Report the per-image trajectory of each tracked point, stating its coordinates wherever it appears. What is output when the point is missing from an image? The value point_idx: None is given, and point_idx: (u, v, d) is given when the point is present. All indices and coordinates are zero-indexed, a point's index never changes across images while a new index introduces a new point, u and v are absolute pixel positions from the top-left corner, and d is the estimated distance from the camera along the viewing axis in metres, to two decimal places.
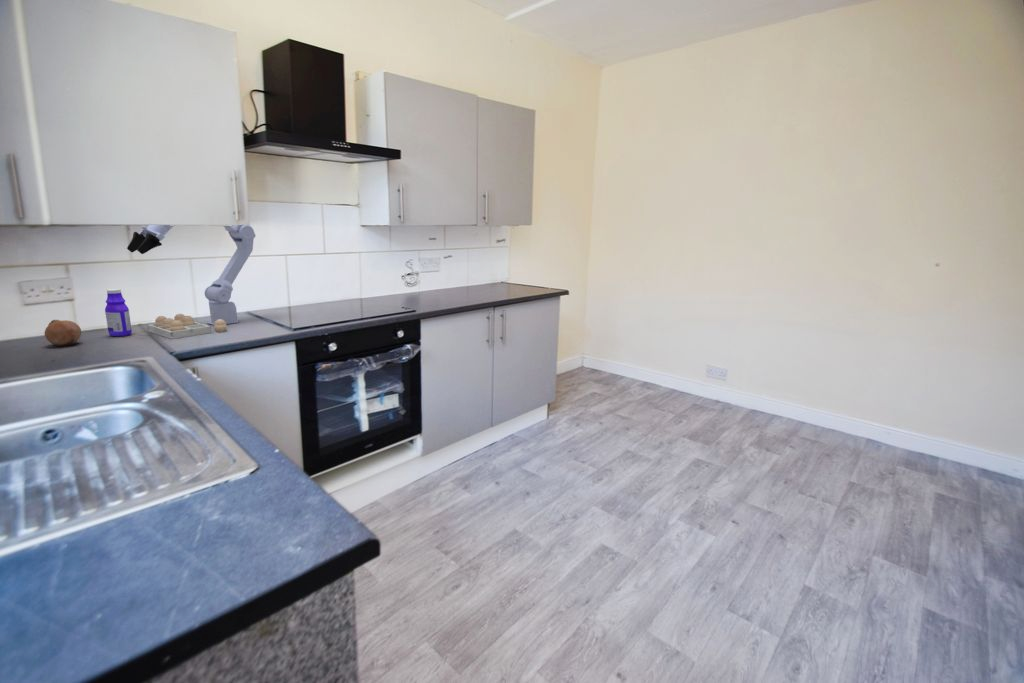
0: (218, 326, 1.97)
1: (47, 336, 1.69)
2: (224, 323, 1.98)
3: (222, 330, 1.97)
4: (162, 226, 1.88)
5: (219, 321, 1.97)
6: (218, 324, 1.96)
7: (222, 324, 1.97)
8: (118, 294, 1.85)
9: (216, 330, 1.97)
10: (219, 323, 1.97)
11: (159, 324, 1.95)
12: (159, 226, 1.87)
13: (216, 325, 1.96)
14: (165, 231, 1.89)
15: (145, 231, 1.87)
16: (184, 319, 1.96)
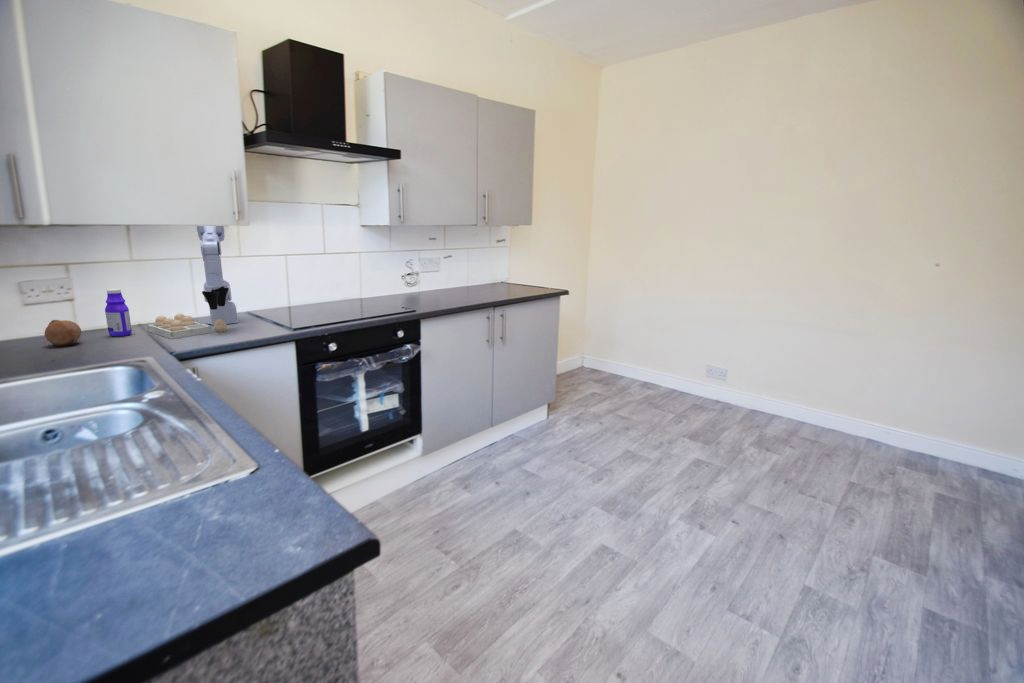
0: (218, 326, 1.97)
1: (47, 336, 1.69)
2: (224, 323, 1.98)
3: (222, 330, 1.97)
4: None
5: (219, 321, 1.97)
6: (218, 324, 1.96)
7: (222, 324, 1.97)
8: (118, 294, 1.85)
9: (216, 330, 1.97)
10: (219, 323, 1.97)
11: (159, 324, 1.95)
12: None
13: (216, 325, 1.96)
14: None
15: (218, 286, 1.94)
16: (184, 319, 1.96)
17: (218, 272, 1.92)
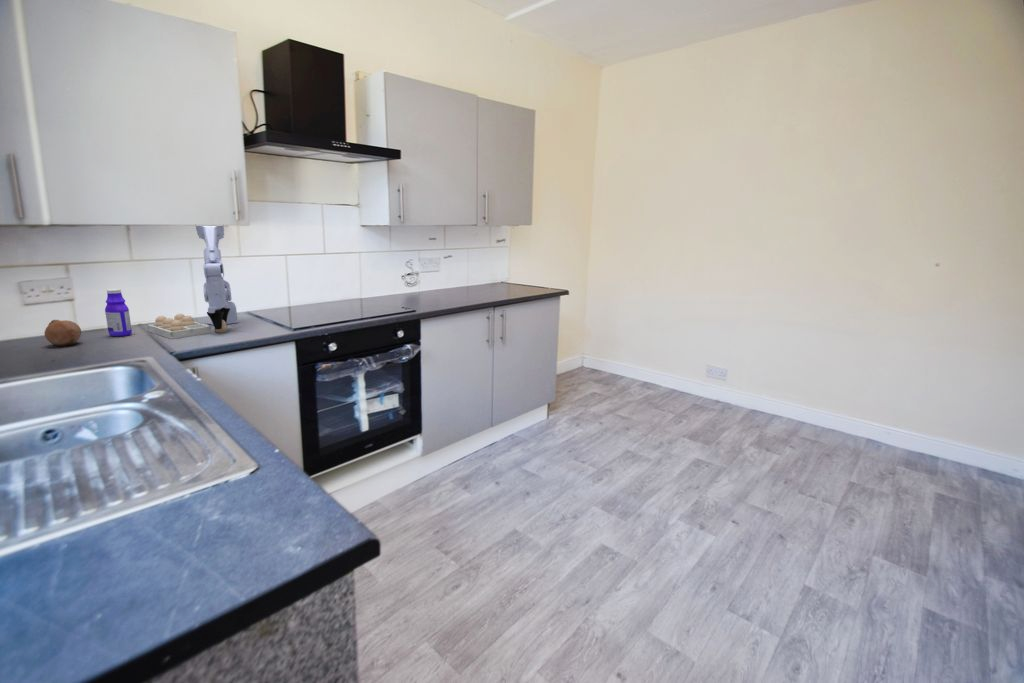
0: None
1: (47, 336, 1.69)
2: (224, 323, 1.98)
3: (222, 330, 1.97)
4: None
5: None
6: None
7: (222, 324, 1.97)
8: (118, 294, 1.85)
9: (216, 330, 1.97)
10: None
11: (159, 324, 1.95)
12: None
13: None
14: None
15: None
16: (184, 319, 1.96)
17: (221, 293, 1.94)
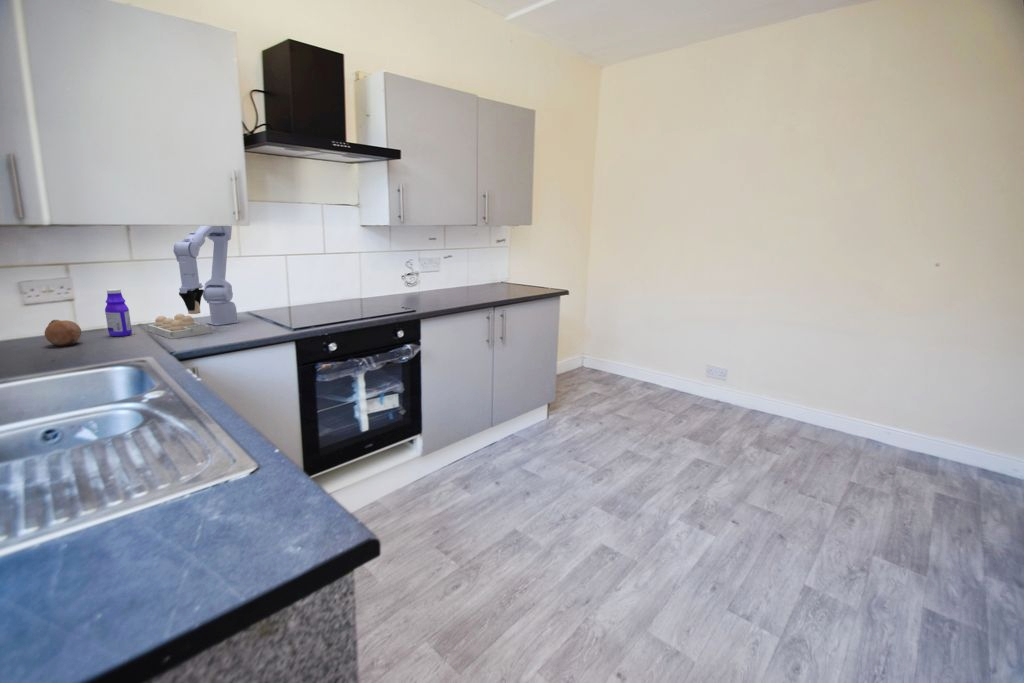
0: None
1: (47, 336, 1.69)
2: (197, 304, 1.93)
3: (195, 311, 1.92)
4: None
5: None
6: None
7: (195, 306, 1.92)
8: (118, 294, 1.85)
9: (189, 311, 1.92)
10: None
11: (159, 324, 1.95)
12: None
13: None
14: None
15: (194, 288, 1.90)
16: (184, 319, 1.96)
17: (190, 273, 1.88)
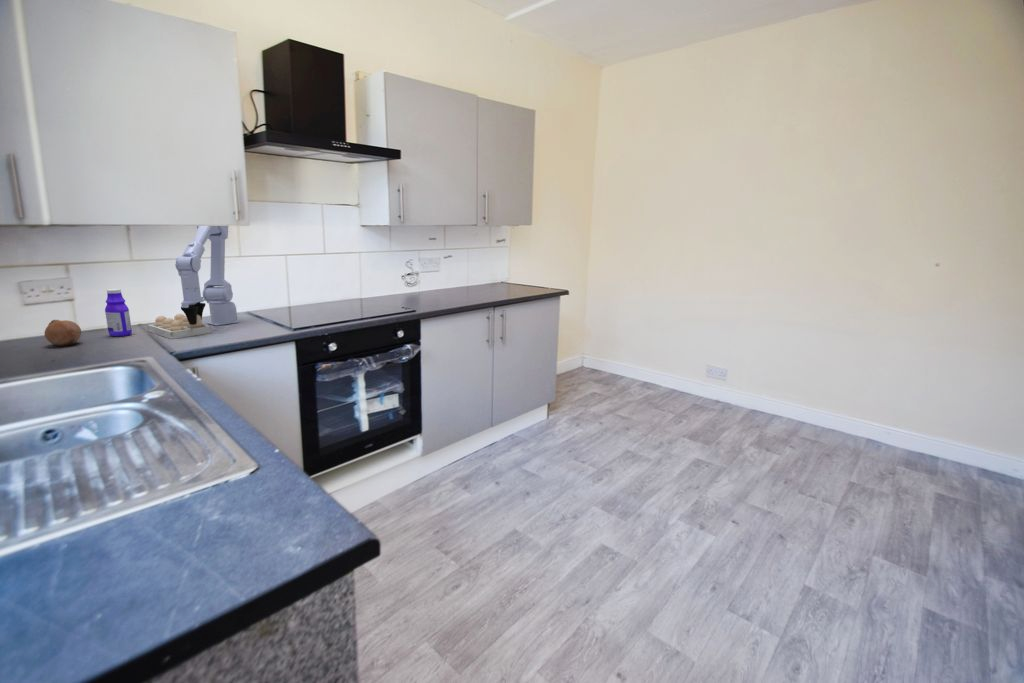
0: None
1: (47, 336, 1.69)
2: (199, 318, 1.94)
3: (197, 325, 1.93)
4: None
5: None
6: None
7: (197, 319, 1.93)
8: (118, 294, 1.85)
9: (191, 325, 1.93)
10: None
11: (159, 324, 1.95)
12: None
13: None
14: None
15: None
16: (184, 319, 1.96)
17: (192, 288, 1.89)
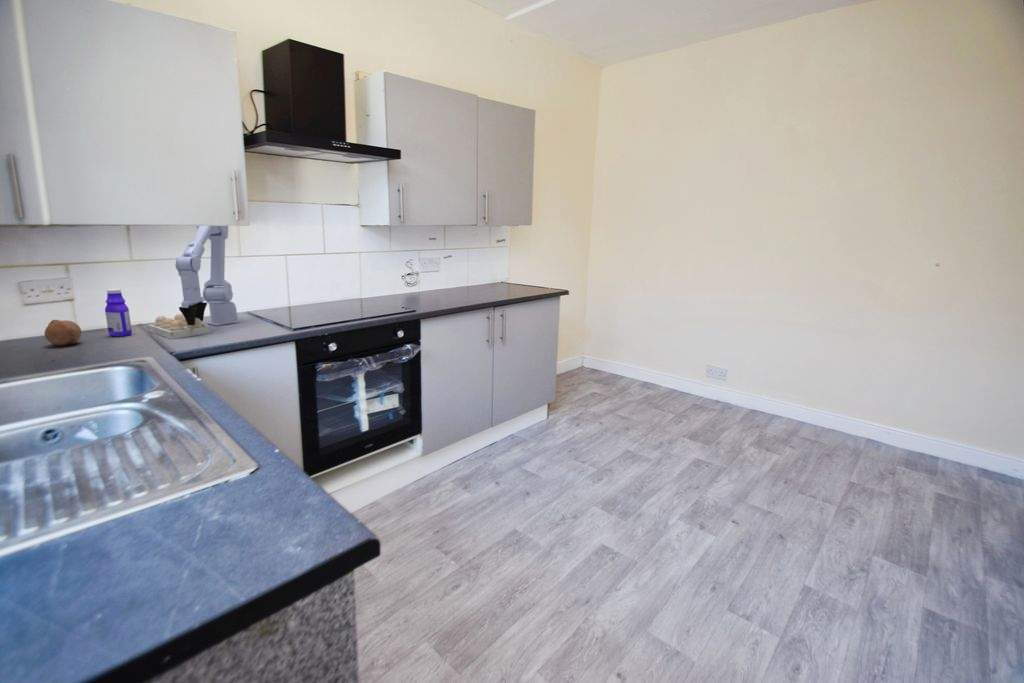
0: (193, 325, 1.93)
1: (47, 336, 1.69)
2: (199, 322, 1.94)
3: None
4: None
5: None
6: None
7: (197, 323, 1.93)
8: (118, 294, 1.85)
9: None
10: None
11: (159, 324, 1.95)
12: None
13: None
14: None
15: None
16: (184, 319, 1.96)
17: (192, 288, 1.89)
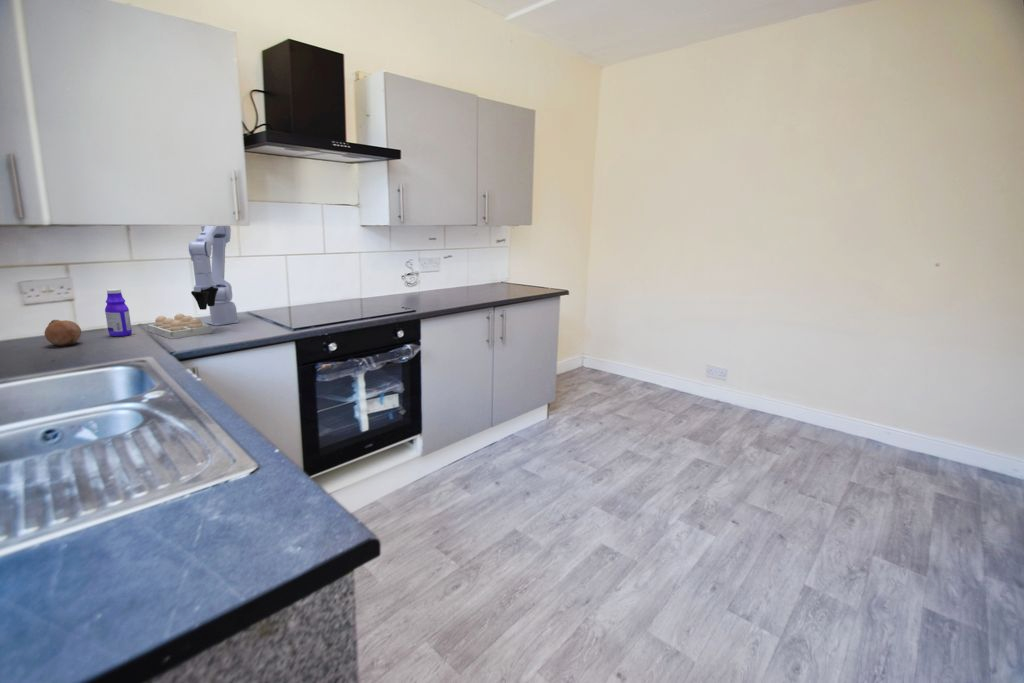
0: (193, 325, 1.93)
1: (47, 336, 1.69)
2: (199, 322, 1.94)
3: None
4: None
5: (194, 320, 1.93)
6: (193, 323, 1.93)
7: (197, 323, 1.93)
8: (118, 294, 1.85)
9: None
10: (194, 322, 1.93)
11: (159, 324, 1.95)
12: None
13: (191, 324, 1.93)
14: None
15: (208, 286, 1.94)
16: (184, 319, 1.96)
17: (205, 272, 1.92)
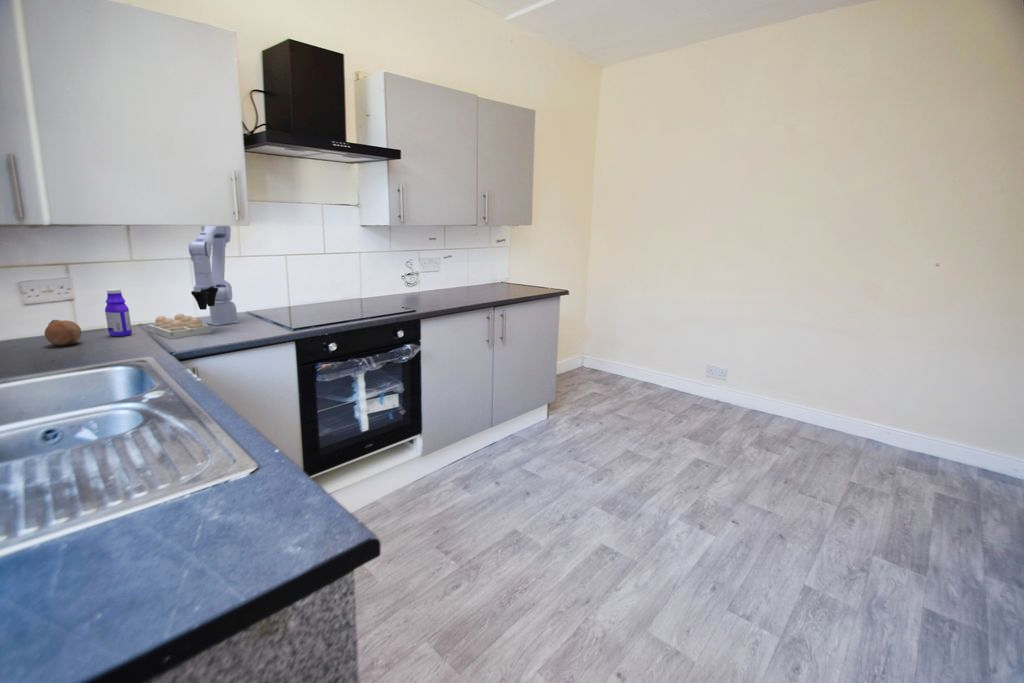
0: (194, 325, 1.93)
1: (47, 336, 1.69)
2: (200, 322, 1.94)
3: None
4: None
5: (194, 320, 1.93)
6: (193, 323, 1.93)
7: (198, 323, 1.93)
8: (118, 294, 1.85)
9: None
10: (194, 322, 1.93)
11: (159, 324, 1.95)
12: None
13: (191, 324, 1.93)
14: None
15: (208, 286, 1.94)
16: (184, 319, 1.96)
17: (205, 272, 1.92)
